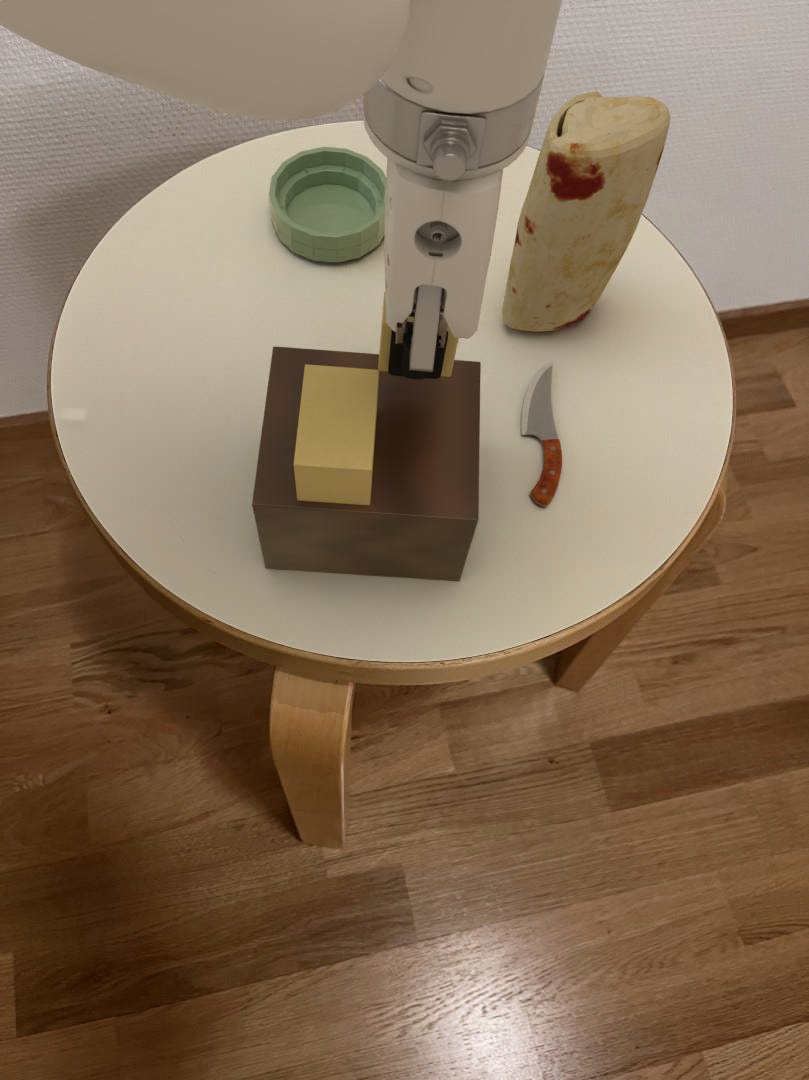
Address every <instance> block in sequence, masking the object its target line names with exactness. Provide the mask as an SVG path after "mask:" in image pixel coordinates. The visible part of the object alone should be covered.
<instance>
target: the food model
mask: <svg viewBox="0 0 809 1080" xmlns="http://www.w3.org/2000/svg"><path fill="white" fill-rule="evenodd" d="M670 124H671V115H670V110H669V108H668V106H667V105H666V104H665V103H664V102H662V101H661V100H659V99H656V98H653V97H650V96H640V95H636V96H624V97H623V96H622V97H620V96H603V95H602V94H601V93H600V92H599V91H598V90H594V91H590V92H586V93H582V94H577V95H575V96H573V97H572V98H570V99H569V100H568V101H566V102H565V103H564V104H563V105H562V106H561V107H560V108H559V109H558V110H557V111H556V113H555V114H554V115H553V116H552V118H551V120H550V122H549V125H548V128H547V130H546V133H545V136H544V139H543V142H542V145H541V148H540V150H539V154H538V157H537V160H536V163H535V167H534V170H533V173H532V177H531V180H530V184H529V187H528V191H527V193H526V196H525V199H524V202H523V205H522V207H521V211H520V214H519V216H518V217H519V218H518V220H517V225H516V231H515V238H514V243H513V248H512V252H511V257H510V263H509V269H508V275H507V281H506V286H505V287H506V288H505V293H504V298H503V303H502V310H501V316H502V320H503V322H504V324H505V325H506V326H507V327H509V328H511V329H513V330H517V331H524V332H549V331H550V332H552V331H557V330H561V329H563V328H567V327H570V326H573V325H575V324H578V323H580V322H582V321H583V320H584V319H585V318H587V316H588V315H589V314H590V313H591V311H592V309H593V308H594V306H595V305H596V303H597V302H598V300H599V299H600V297H601V296H602V294H603V292H604V291H605V289H606V288H607V286H608V283H609V282H610V280H611V278H612V276H613V275H614V274H615V271H616V269H617V268H618V266H619V264H620V263H621V261H622V259H623V257H624V255H625V253H626V251H627V249H628V248H629V245H630V243H631V241H632V238H633V236H634V234H635V232H636V230H637V228H638V225H639V222H640V219H641V217H642V215H643V212H644V209H645V207H646V205H647V201H648V199H649V196H650V193H651V190H652V187H653V183H654V181H655V178H656V175H657V171H658V169H659V165H660V162H661V159H662V155H663V153H664V149H665V145H666V141H667V138H668V132H669V129H670Z"/></svg>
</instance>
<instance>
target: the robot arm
mask: <svg viewBox="0 0 809 1080" xmlns="http://www.w3.org/2000/svg"><path fill="white" fill-rule="evenodd" d="M562 3H563V0H0V26H2V27H3V28H6V30H8V31H10V32H11V33H13V34H15V35H17V36H19V37H20V38H23V39H25V40H27V41H28V42H31V43H33V44H34V45H37V46H39V47H40V48H42V49H45V50H46V51H48V52H50V53H53V54H55V55H57V56H60V57H63V58H64V59H67V60H69V61H71V62H74V63H76V64H78V65H81V66H84V67H86V68H89V69H91V70H94V71H96V72H100V73H103V74H105V75H108V76H110V77H113V78H116V79H119V80H122V81H125V82H128V83H131V84H133V85H137V86H140V87H142V88H145V89H148V90H151V91H154V92H157V93H158V94H159V93H160V94H162V95H164V96H168V97H170V98H174V99H177V100H180V101H183V102H186V103H189V104H193V105H196V106H199V107H202V108H205V109H209V110H212V111H216V112H219V113H222V114H227V115H232V116H240V117H245V118H249V119H255V120H262V121H290V122H291V121H298V120H309V119H313V118H318V117H321V116H322V117H323V116H325V115H328V114H331V113H334V112H337V111H340V110H341V109H344V108H345V107H347V106H349V105H351V104H353V103H355V102H356V101H358V100H359V99H360V98H362V119H363V125H364V129H365V131H366V133H367V135H368V138H369V139H370V141H371V142H372V144H373V145H374V147H375V148H376V149H377V150H378V151H379V152H380V153H381V154H382V155H383V156H384V157H386V158H387V159H386V175H385V176H386V199H385V235H384V237H383V239H384V241H383V242H384V288H385V289H384V292H385V303H386V323H387V324H388V326H389V327H390V328H391V329H392V332H391V343H390V354H389V364H388V373H389V374H390V375H393V376H403V377H406V378H409V379H425V378H427V379H438V378H440V377H441V373H442V367H443V362H444V357H445V351H446V346H447V340H448V331H447V327H449V329H450V331H451V333H452V335H453V337H454V338H459V339H471V338H472V337H473V336H475V334H476V333H477V332H478V328H479V322H480V317H481V311H482V304H483V299H484V293H485V288H486V282H487V277H488V273H489V266H490V260H491V255H492V249H493V245H494V244H493V243H494V238H495V232H496V225H497V220H498V212H499V206H500V197H501V190H502V183H503V174H504V169H506V168H507V167H509V166H511V164H513V162H515V161H517V159H518V158H519V157H520V156H521V154H523V153H524V151H525V149H526V147H527V146H528V144H529V139H530V136H531V132H532V129H533V124H534V120H535V116H536V112H537V108H538V104H539V100H540V95H541V92H542V87H543V82H544V79H545V74H546V70H547V64H548V61H549V58H550V57H549V56H550V53H551V49H552V45H553V40H554V36H555V31H556V27H557V24H558V19H559V15H560V10H561V8H562V7H561V6H562ZM408 317H414V322H407V318H408Z"/></svg>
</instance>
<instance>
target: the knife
mask: <svg viewBox="0 0 809 1080" xmlns="http://www.w3.org/2000/svg"><path fill="white" fill-rule="evenodd" d="M553 367H554V361H553V360H552V361H550V362H548V363H547V364H545V365H544V366H543V367H542V368H541V369H540V370H538V372H536V374H535V375H534V376H533V378H532V380H531V381H530V383H529V385H528V387H527V389H526V392H525V396H524V399H523V403H522V404H523V405H522V411H521V435H522V436H533V437H536V438H538V439H539V441H540V444H541V446H542V452H543V453H542V454H543V465H542V471H541V475H540V477H539V479H538V481H537V482H536V484H535V485H534V487H533V488H532V489H531V490H530V492H529V493H530V494H529V496H530V499H531V500H532V501H533V502H534V503H535V504H537V506H539V507H542V508H547V506H549V505H550V503H551V502H552V501H553V498H554V496H555V494H556V491H557V489H558V486H559V483H560V479H561V475H562V469H563V452H562V445H561V441H560V438H559V436H558V432H557V428H556V425H555V419H554V414H553V407H552V374H553Z"/></svg>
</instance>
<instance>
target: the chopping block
mask: <svg viewBox="0 0 809 1080" xmlns="http://www.w3.org/2000/svg"><path fill="white" fill-rule="evenodd" d="M378 364H379V353H367V352H354V351H343V350H342V351H340V350H329V349H328V350H327V349H314V348H302V347H301V348H300V347H290V346H289V347H288V346H275V345H274V346H273V347H272V353H271V359H270V365H269V374H268V381H267V389H266V395H265V396H266V397H265V404H264V411H263V418H262V426H261V434H260V442H259V450H258V455H257V464H256V471H255V477H254V478H255V479H254V486H253V494H252V500H251V507H252V511H253V516H254V521H255V526H256V531H257V537H258V540H259V546H260V550H261V551H260V552H261V556H262V560H263V563H264V564H263V565H264V568H265V569H270V570H285V571H299V572H300V571H301V572H314V573H315V572H316V573H330V574H331V573H332V574H345V575H362V576H374V577H376V576H377V577H389V578H390V577H391V578H406V579H420V580H421V579H422V580H436V581H437V580H438V581H451V582H461V578H462V576H463V573H464V569H465V565H466V563H467V559H468V556H469V553H470V549H471V546H472V543H473V539H474V536H475V533H476V529H477V526H478V522H479V514H480V513H479V511H480V510H479V509H480V508H479V507H480V503H479V502H480V442H481V441H480V440H481V439H480V437H481V373H482V372H481V371H482V370H481V364H482V363H481V361H474V360H461V359H459V360H458V359H454V364H453V368H452V373H451V376H450V377H446V376H441V377H440V378H438V379H427V378H425V379H409V378H406V377H403V376H393V375H390V374H389V373H388V372H386V371H379V383H378V401H377V417H376V431H375V445H374V459H373V473H372V487H371V501H370V505H355V504H341V503H327V502H312V501H298V500H297V492H296V482H295V473H294V457H295V448H296V439H297V430H298V422H299V413H300V404H301V395H302V387H303V378H304V369H305V365H319V366H333V367H346V368H360V369H373V370H378Z"/></svg>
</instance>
